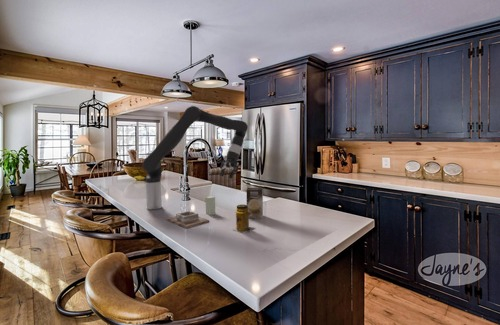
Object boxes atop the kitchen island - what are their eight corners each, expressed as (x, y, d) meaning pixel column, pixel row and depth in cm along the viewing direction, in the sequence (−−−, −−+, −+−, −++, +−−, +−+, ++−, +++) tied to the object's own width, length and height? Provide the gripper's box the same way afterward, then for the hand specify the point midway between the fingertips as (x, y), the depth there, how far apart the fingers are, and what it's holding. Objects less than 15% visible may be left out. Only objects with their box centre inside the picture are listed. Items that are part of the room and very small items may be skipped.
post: (205, 213, 155) (205, 197, 154) (211, 212, 158) (210, 195, 157) (209, 214, 152) (209, 198, 151) (215, 213, 155) (214, 196, 154)
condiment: (232, 230, 127) (232, 205, 126) (244, 225, 133) (243, 202, 132) (243, 233, 122) (243, 208, 121) (255, 228, 129) (254, 204, 128)
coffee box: (246, 218, 145) (245, 189, 143) (247, 215, 151) (246, 187, 150) (262, 218, 144) (262, 190, 142) (263, 215, 150) (262, 187, 149)
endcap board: (166, 220, 144) (166, 212, 144) (188, 214, 154) (188, 207, 153) (186, 228, 130) (185, 220, 130) (208, 221, 140) (208, 214, 139)
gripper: (222, 149, 165) (214, 173, 163) (237, 151, 155) (228, 177, 153) (230, 153, 171) (223, 177, 168) (245, 155, 160) (237, 180, 158)
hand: (225, 177), depth 161 cm, fingers open, 8 cm apart
